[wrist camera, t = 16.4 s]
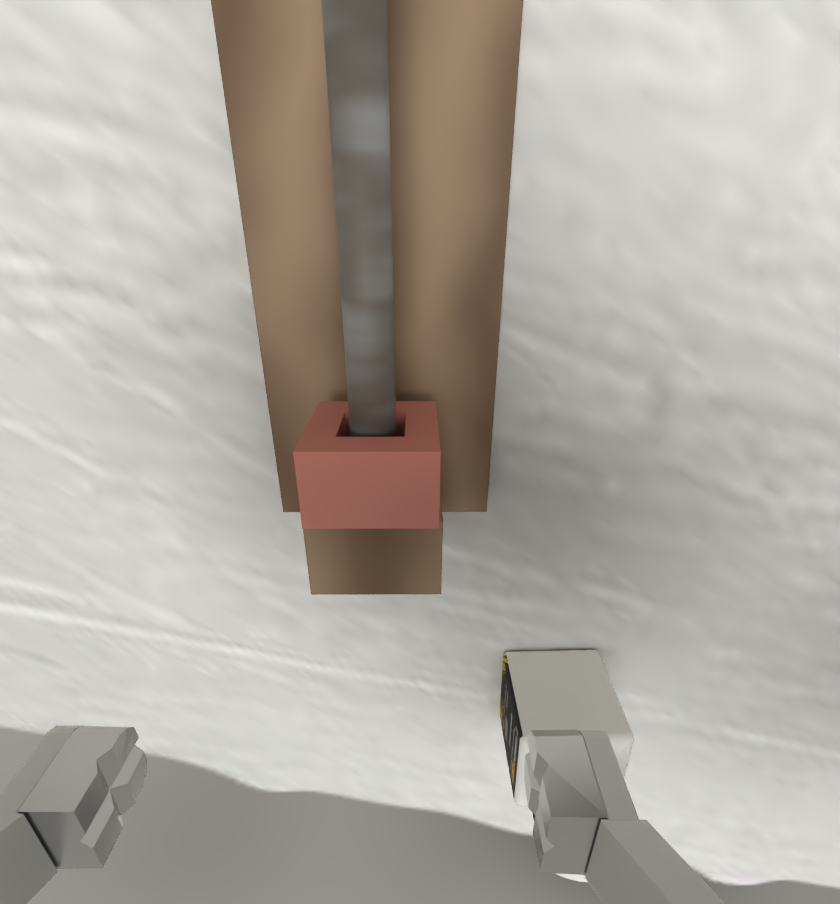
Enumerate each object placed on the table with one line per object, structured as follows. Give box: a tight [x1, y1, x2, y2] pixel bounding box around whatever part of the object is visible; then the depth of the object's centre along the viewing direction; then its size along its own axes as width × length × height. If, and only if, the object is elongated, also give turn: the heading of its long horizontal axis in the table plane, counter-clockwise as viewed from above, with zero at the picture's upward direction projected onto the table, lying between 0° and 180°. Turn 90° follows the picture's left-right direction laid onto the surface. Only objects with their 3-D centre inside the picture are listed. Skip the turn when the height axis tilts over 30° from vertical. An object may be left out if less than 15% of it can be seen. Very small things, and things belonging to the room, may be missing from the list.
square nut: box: [293, 401, 441, 529], centre depth 22 cm, size 6×4×6 cm, turn 90°
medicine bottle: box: [500, 650, 639, 882], centre depth 33 cm, size 7×7×12 cm
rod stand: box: [211, 0, 523, 594], centre depth 20 cm, size 12×30×9 cm, turn 0°
